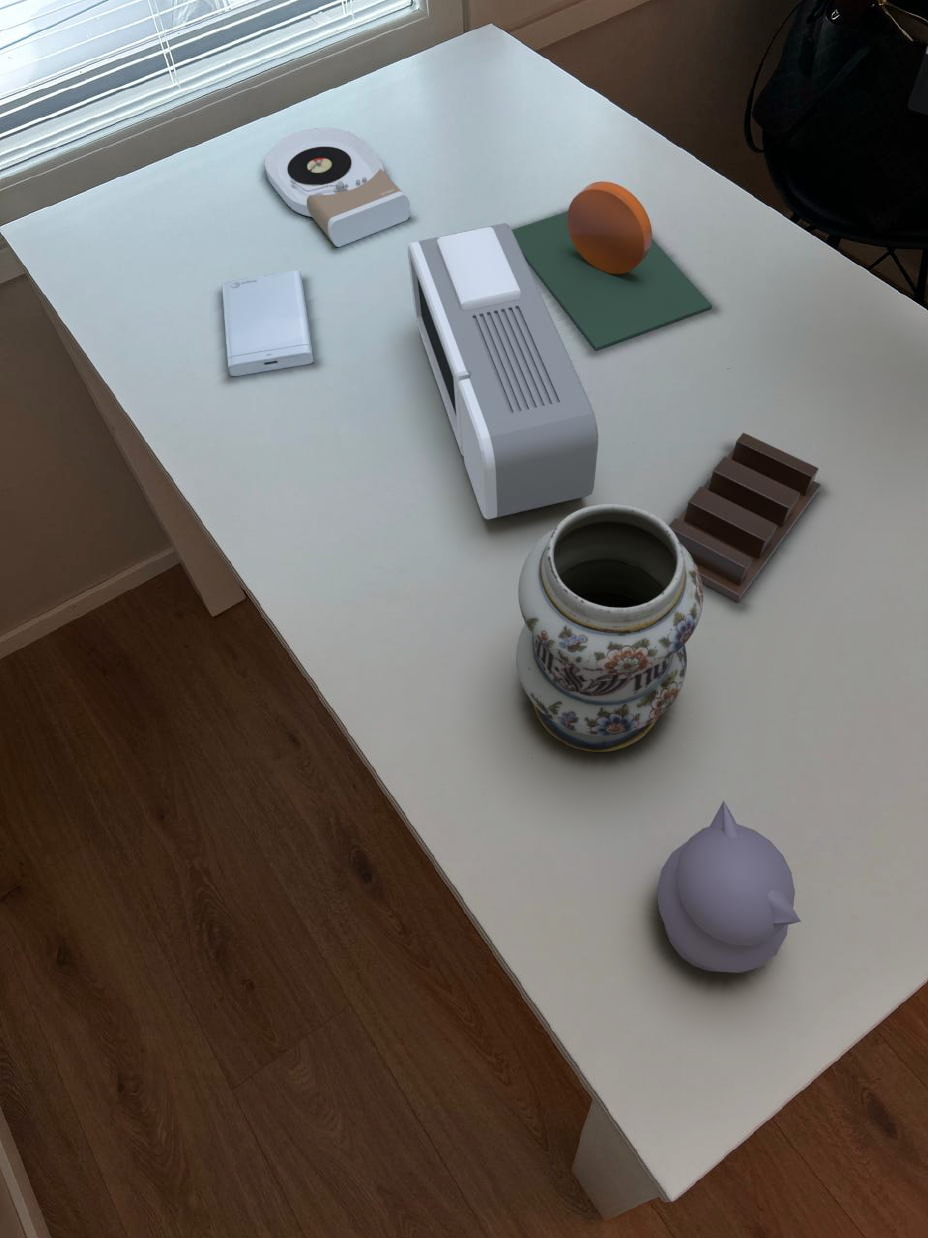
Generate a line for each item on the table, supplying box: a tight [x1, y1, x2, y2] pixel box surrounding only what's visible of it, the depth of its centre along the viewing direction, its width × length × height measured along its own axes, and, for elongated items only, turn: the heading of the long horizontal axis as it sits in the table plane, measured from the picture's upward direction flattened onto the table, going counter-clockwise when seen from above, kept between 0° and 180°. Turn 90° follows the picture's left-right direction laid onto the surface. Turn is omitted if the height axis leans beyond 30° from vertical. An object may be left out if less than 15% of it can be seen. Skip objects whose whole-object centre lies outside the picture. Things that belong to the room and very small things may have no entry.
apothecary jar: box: [515, 503, 704, 753], centre depth 66 cm, size 12×12×18 cm
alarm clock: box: [407, 222, 599, 520], centre depth 85 cm, size 27×9×12 cm, turn 14°
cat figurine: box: [657, 800, 802, 974], centre depth 59 cm, size 8×8×12 cm
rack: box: [668, 432, 821, 603], centre depth 80 cm, size 14×8×4 cm, turn 143°
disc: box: [567, 180, 653, 274], centre depth 95 cm, size 2×9×9 cm, turn 53°
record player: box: [264, 127, 411, 248], centre depth 108 cm, size 12×3×20 cm
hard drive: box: [221, 270, 314, 377], centre depth 97 cm, size 2×8×12 cm
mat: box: [512, 210, 713, 351], centre depth 99 cm, size 20×13×1 cm, turn 24°
